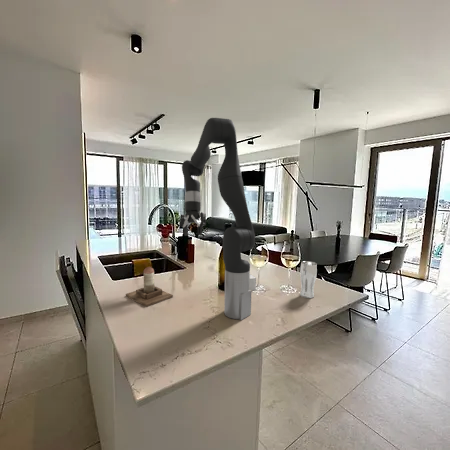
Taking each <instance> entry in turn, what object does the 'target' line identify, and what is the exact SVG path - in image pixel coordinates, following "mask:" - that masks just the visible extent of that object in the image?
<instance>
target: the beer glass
mask: <svg viewBox="0 0 450 450" xmlns="http://www.w3.org/2000/svg"><path fill="white" fill-rule="evenodd" d="M317 265H318V263H316V262H315V261H307V260H304V261H301V263H300V271H299V275H300V285H301V287H300V293H299V296H300V297H302V298H304V299H313V298H314V297H315V293H314V289H315V284H316V279H317V273H318V269H317V267H318V266H317Z"/></svg>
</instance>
